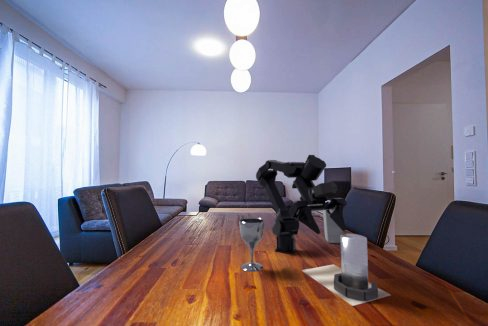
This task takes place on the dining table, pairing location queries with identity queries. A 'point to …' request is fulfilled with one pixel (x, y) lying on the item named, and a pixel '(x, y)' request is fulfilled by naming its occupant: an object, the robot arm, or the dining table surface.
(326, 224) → the skincare box
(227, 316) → the dining table surface
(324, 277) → the ring stand
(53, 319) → the dining table surface
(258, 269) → the wine glass
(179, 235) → the dining table surface
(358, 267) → the grey round cylinder
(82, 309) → the dining table surface
